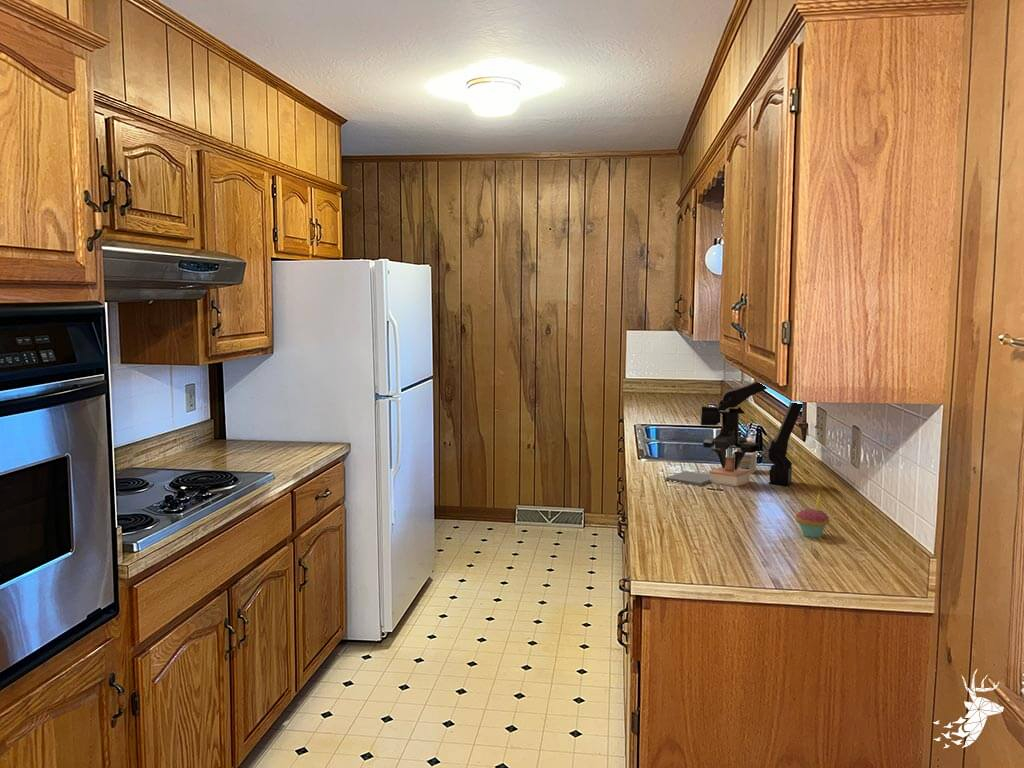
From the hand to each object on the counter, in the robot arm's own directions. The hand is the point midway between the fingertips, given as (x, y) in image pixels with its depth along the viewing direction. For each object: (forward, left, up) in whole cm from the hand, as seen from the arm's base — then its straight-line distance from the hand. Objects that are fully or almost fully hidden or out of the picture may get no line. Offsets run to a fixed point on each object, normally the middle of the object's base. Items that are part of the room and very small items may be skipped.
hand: (729, 469), depth 271 cm
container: (+4, -20, -5) cm, 21 cm away
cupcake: (-46, +44, -5) cm, 64 cm away
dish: (0, 0, -5) cm, 5 cm away
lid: (0, 0, -1) cm, 1 cm away
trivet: (+12, +5, -5) cm, 14 cm away
